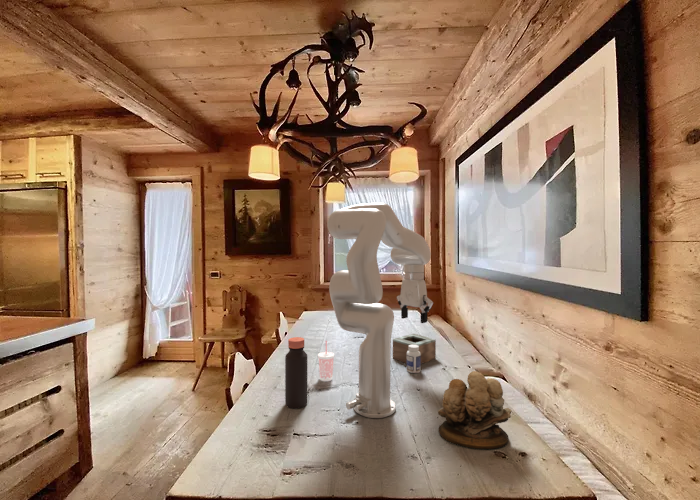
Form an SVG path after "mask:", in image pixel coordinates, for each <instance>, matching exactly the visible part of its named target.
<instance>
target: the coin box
mask: <svg viewBox="0 0 700 500" xmlns="http://www.w3.org/2000/svg"><path fill="white" fill-rule="evenodd" d="M436 341H437V340H436V338H432V337H429V336H424V335H421V334H417V333H411V334H408V335H404V336H398V337H396V338H392V359H394V360H396V361H400V362H402V363H404V364H407V351H409V349H408V346H409V345H418V346H419V350H418V351H419V352H420V353H421V364H426V363H428V362H429V361H432V360H436V356H437V355H436V353H437V352H436V348H437V347H436V346H437V343H436Z"/></svg>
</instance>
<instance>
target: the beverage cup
mask: <svg viewBox="0 0 700 500" xmlns="http://www.w3.org/2000/svg"><path fill="white" fill-rule="evenodd" d="M327 342H328V341H327V340H325V351H321V352H319V353H317V357H318V367H319V370H318V372H319V380H320V381H321V382H330V381H332V380H333V375H334V374H333V373H334V358H335V353H334V352H331V351H328V347H327V346H328V343H327Z"/></svg>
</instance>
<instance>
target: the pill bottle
mask: <svg viewBox="0 0 700 500" xmlns="http://www.w3.org/2000/svg"><path fill="white" fill-rule="evenodd" d="M408 349H409V351H407V363H406V371H407V372H408V373H410V374H411V373H412V374H419V373H420V372H421V369H422V368H421V353H420V352H419V351H418V350H419V346H418V345H409V346H408Z"/></svg>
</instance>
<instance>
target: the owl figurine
mask: <svg viewBox="0 0 700 500" xmlns="http://www.w3.org/2000/svg"><path fill="white" fill-rule="evenodd" d="M466 381H467V384H466V383H465V382H464V381H463V380H462V379H459V378H454V379H451V380H450V381H449V384H448V388H447V389H445V390H444V393H443V395H442V397H443V398H442V403H441V406H442V407H441V408H440V409H438V411H437V413H438V415H439V416H440V417H442V418H445V421H443V422H442V423H440V425H439V426H438V434H439V436H440V437H441V438H442V439H443V440H444V441H445V442H446V443H449V444H452V445H454V446H457V447H461V448H466V449H469V450H470V449H471V450H479V451H480V450H481V451H482V450H483V451H493V450H494V451H495V450H499V449H503V448H505V447H506V446H507V445H508V443H509V435H508V433H507V432H506V431H505V430H504V429H503V428H501V426H500V425H499V424H503V423H506V422H508V420H509V419H510V418H511V417H512V415H511V414H512V413H513V411H512V410H511V409H510V408H509V407H506V408H504V404H505V399H504V397H503V395H504V390H503V387H502V384H501V382H500V381H499V380H497V379H495V378H491V377H490V378H489V377H488V378H486V377H485V376H484V375H483V374H482V373H481V372H478V370H477V371H475V370H474V371H471V372H469V373H468V375H467V380H466ZM467 385H468V386H467Z"/></svg>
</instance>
